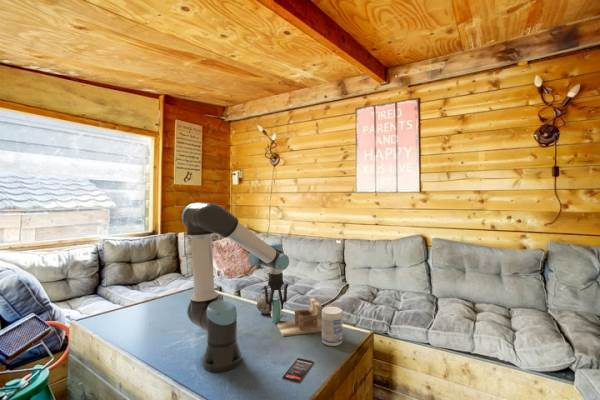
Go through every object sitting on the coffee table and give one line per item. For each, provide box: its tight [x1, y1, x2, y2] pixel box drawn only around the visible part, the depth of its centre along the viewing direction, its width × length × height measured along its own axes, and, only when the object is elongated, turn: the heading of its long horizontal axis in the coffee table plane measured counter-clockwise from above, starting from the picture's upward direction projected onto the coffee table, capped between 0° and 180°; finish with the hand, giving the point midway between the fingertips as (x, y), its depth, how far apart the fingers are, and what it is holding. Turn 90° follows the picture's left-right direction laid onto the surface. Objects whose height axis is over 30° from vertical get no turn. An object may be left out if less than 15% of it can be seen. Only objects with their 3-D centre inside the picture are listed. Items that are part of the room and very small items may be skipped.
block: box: [294, 308, 317, 330], centre depth 155 cm, size 9×9×6 cm
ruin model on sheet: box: [218, 293, 224, 300], centre depth 184 cm, size 11×3×10 cm, turn 68°
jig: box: [276, 297, 323, 338], centre depth 154 cm, size 13×20×12 cm, turn 107°
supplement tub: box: [321, 306, 343, 347], centre depth 139 cm, size 10×10×15 cm
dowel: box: [271, 297, 281, 324], centre depth 161 cm, size 4×4×12 cm
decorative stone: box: [256, 295, 271, 315], centre depth 173 cm, size 10×8×10 cm
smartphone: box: [281, 357, 315, 384], centre depth 117 cm, size 7×1×15 cm
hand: (276, 315), depth 161 cm, fingers closed on dowel, 4 cm apart
